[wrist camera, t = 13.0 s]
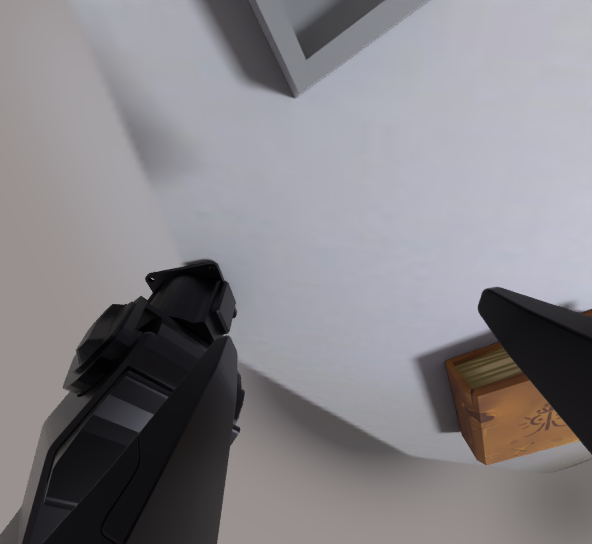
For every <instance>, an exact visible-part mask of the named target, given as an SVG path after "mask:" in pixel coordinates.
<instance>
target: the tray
mask: <svg viewBox="0 0 592 544" xmlns="http://www.w3.org/2000/svg"><path fill="white" fill-rule="evenodd" d="M248 1H249V3H250V5H251V8H252V10H253V12H254V14H255V16H256V18H257V20H258V22H259V24H260V26H261V28H262V30H263V33H264V35H265V37H266V39H267V41H268V43H269V45H270V47H271V49H272V51H273V53H274V55H275V58H276V60H277V62H278V64H279V66H280V68H281V70H282V72H283V74H284V76H285V78H286V80H287V83H288V85H289V87H290V89H291V91H292V93H293V95H294V97H295V98H297V97H298V96H299V95H301V94H302V93H303V92H305V91H306V90H308V89H309V88H310V87H312V86H313V85H314V84H316V83H317V82H319V81H320V80H321V79H323V78H324V77H325V76H327V75H328V74H330V73H331V72H332V71H334V70H335V69H336V68H338V67H339V66H341V65H342V64H343V63H345V62H346V61H347V60H349V59H350V58H352V57H353V56H354V55H356V54H357V53H358V52H360V51H361V50H362V49H364V48H365V47H367V46H368V45H369V44H371V43H372V42H373V41H375V40H376V39H378V38H379V37H380V36H382V35H383V34H384V33H386V32H387V31H389V30H390V29H391V28H393V27H394V26H395V25H397V24H398V23H400V22H401V21H402V20H404V19H405V18H406V17H408V16H409V15H411V14H412V13H413V12H415V11H416V10H417V9H419V8H420V7H422V6H423V5H424V4H426V3H427V2H428V1H430V0H248Z"/></svg>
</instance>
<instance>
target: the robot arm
mask: <svg viewBox="0 0 592 544" xmlns="http://www.w3.org/2000/svg"><path fill="white" fill-rule="evenodd" d="M210 266H213V267H214V269H212V268H211V267H210ZM151 278H153V279H154V280H152V279H151ZM145 280H146V282H147V283H148V285H149V287H150V289H151V290H152V292H153V293H152V295H151V296H150V298H149V299H148V300H146V299H145V298H143V297H142V296H140V297H139V298H138V299H137V300H135V301H134V302H131V303H129V304H128V305H127V304H125V305H120V304H112V305H111V306H110V307H109V308H108V309H107V310H106V311H105V312H104V313H103V314H102V315H101V316H100V317H99V318H98V319H97V321H96V322H95V323H94V324H93V325H92V326H91V328H90V329H89V330H88V331H87V333H86V335H85V336H84V338H83V340H82V341H81V343H80V344H79V346H78V347H77V349H76V355H75V356H74V358H73V361H72V363H71V366H70V369H69V371H68V374H67V377H66V379H65V382H64V385H63V389H65V390H68V391H70V392H69V393H68V395H67V396H66V397H65V398H64V399H63V401H62V402H61V403H60V404H59V405H58V407H57V408H56V409H55V410H54V411H53V412H52V413H51V415H50V416H49V417H48V418H47V420H46V421H45V422H44V424H43V427H42V430H41V434H40V438H39V442H38V446H37V449H36V454H35V457H34V461H33V465H32V469H31V473H30V477H29V480H28V484H27V488H26V492H25V496H24V500H23V504H22V506H21V508H20V509H19V511H18V512H17V513H16V515H15V516H14V518H13V519H12V520H11V521H10V523H9V524H8V525H7V527H6V528H5V529H4V531H3V532H2V533H1V534H0V544H217V540H218V532H219V525H220V517H221V510H222V503H223V495H224V487H225V480H226V473H227V465H228V458H229V450H230V446H231V444H232V443H233V441H234V440H235V438H236V437H237V435H238V434H239V432H240V427H238V426H236V422H237V420H238V418H239V414H240V411H241V408H242V406H243V401H244V393H245V392H244V390H243V389H242V388H241V376H240V373H239V372H238V370H237V351H236V348H235V346H234V344H233V342H232V339H231V337H230V336H223V335H224V334H228V333H229V331H230V327H231V322H232V318H235V317H236V315H237V311H236V308H235V304H236V301H235V299H234V296H233V294H232V291H231V289H230V286H229V284H228V282H226V281H224V278H223V276H222V273H221V271H220V268H219V266H218V264H217V263H216V262H206V263H200V264H195V265H190V266H185V267H179V268H174V269H169V270H163V271H159V272H153V273H149V274H148V275H147V276H146V278H145ZM478 311H479V313H480V315H481V317H482V318H483V319H484V321H485V322H486V324H487V325H488V327H489V328H490V330H491V331H492V333H493V334H494V335H495V337H496V338H497V340H498V341H499V343H500V344H501V346H502V347H503V348H504V350H505V351H506V352H507V354H508V355H509V356H510V358H511V359H512V360H513V361H514V362H515V364H516V365H517V366H518V367H519V368H520V370H521V371H522V372H523V373H524V374H525V375H526V377H527V378H528V379H529V380H530V381H531V383H532V384H533V385H534V386H535V387H536V389H537V390H538V391H539V392H540V393H541V395H542V396H543V397H544V398H545V399H546V401H547V402H548V403H549V404H550V405H551V407H552V408H553V409H554V410H555V411H556V413H557V414H558V415H559V416H560V417H561V419H562V420H563V421H564V422H565V423H566V425H567V426H568V427H569V428H570V429H571V430H572V432H573V433H574V434H575V435H576V436H577V438H578V439H579V440H580V441H581V442H582V444H583V445H584V446H585V447H586V448H587V450H588V451H589V452H590V453H591V454H592V317H590V316H587V315H583V314H580V313H577V312H574V311H571V310H568V309H565V308H562V307H559V306H556V305H553V304H550V303H547V302H544V301H540V300H537V299H534V298H531V297H528V296H525V295H522V294H519V293H516V292H513V291H510V290H507V289H504V288H500V287H493V288H487V289H485V290H484V291H483V292H482V295H481V298H480V301H479V304H478Z"/></svg>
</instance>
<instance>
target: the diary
mask: <svg viewBox="0 0 592 544" xmlns="http://www.w3.org/2000/svg"><path fill="white" fill-rule="evenodd" d="M582 314H583V315H587V316H590V317H592V310H590V311H587V312H584V313H582ZM446 368H447V373H448V377H449V381H450V386H451V390H452V394H453V398H454V403H455V407H456V411H457V416H458V420H459V424H460V429H461V433H462V436H463V438H464V439H465V441H466V442H467V444H468V446H469V447H470V449H471V451H472V452H473V454H474V456H475V457H476V459H477V460H478V461H480V462H482V463H483V464H485V465H489V464H493V463H497V462H500V461H504V460H508V459H512V458H515V457H519V456H523V455H527V454H531V453H534V452H538V451H542V450H546V449H549V448H553V447H557V446H561V445H565V444H568V443H572V442H576V441H580V440H579V439H578V438H577V436H576V435H575V434H574V433H573V432H572V430H571V429H570V428H569V427H568V426H567V425H566V423H565V422H564V421H563V420H562V419H561V417H560V416H559V415H558V414H557V413H556V411H555V410H554V409H553V408H552V407H551V405H550V404H549V403H548V402H547V401H546V399H545V398H544V397H543V396H542V395H541V393H540V392H539V391H538V390H537V389H536V387H535V386H534V385H533V384H532V383H531V381H530V380H529V379H528V378H527V377H526V375H525V374H524V373H523V372H522V371H521V370H520V368H519V367H518V366H517V365H516V364H515V362H514V361H513V360H512V359H511V358H510V356H509V355H508V354H507V352H506V351H505V350H504V348H503V347H502V346H501V344H500V343H499V342H498V343H495V344H492V345H490V346H487V347H484V348H481V349H478V350H475V351H472V352H469V353H467V354H464V355H461V356H458V357H455V358H452V359H449V360H447V361H446Z"/></svg>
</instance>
